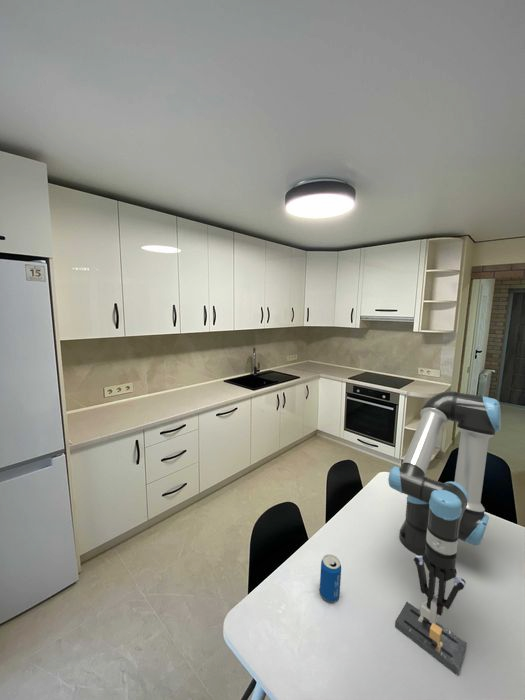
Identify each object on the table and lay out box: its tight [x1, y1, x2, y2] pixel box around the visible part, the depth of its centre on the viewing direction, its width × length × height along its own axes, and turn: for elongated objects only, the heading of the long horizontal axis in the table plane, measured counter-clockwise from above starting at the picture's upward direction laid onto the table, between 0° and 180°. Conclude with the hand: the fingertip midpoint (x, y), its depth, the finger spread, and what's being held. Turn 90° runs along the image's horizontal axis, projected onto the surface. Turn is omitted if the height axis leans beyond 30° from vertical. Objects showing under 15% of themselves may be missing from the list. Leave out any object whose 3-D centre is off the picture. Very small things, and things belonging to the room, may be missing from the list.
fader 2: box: [429, 623, 442, 646], centre depth 80 cm, size 2×2×4 cm
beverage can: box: [319, 553, 342, 603], centre depth 95 cm, size 6×6×12 cm
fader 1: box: [420, 601, 430, 622], centre depth 86 cm, size 2×2×4 cm
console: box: [394, 601, 468, 676], centre depth 83 cm, size 16×9×2 cm, turn 43°
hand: (433, 620), depth 85 cm, fingers closed
